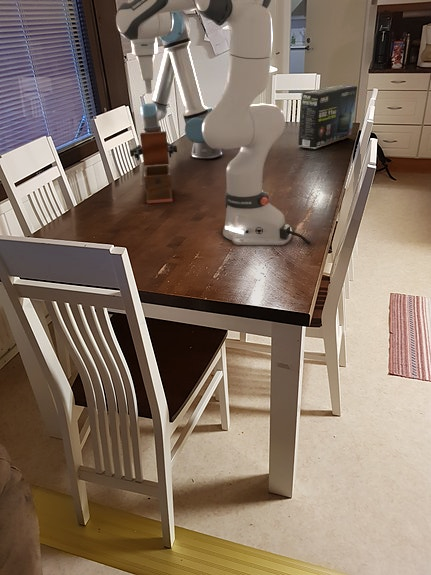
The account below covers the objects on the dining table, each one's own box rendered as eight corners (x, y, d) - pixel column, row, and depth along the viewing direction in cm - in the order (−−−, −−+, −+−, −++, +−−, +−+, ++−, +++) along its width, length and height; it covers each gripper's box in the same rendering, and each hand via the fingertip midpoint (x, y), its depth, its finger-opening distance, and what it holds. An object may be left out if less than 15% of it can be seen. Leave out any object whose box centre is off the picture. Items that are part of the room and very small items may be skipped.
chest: (172, 201, 177) (170, 174, 172) (147, 203, 176) (144, 176, 171) (171, 189, 189) (168, 164, 184) (147, 191, 188) (144, 166, 183)
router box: (314, 151, 231) (318, 94, 217) (296, 148, 237) (299, 92, 224) (352, 138, 251) (358, 85, 238) (335, 135, 258) (340, 83, 245)
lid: (166, 132, 172) (164, 119, 177) (140, 134, 171) (139, 121, 176) (168, 164, 183) (167, 151, 188) (144, 165, 182) (143, 152, 187)
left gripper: (181, 149, 213) (184, 161, 195) (127, 154, 211) (125, 167, 193) (179, 132, 209) (182, 143, 191) (124, 138, 207) (122, 149, 189)
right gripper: (135, 46, 165) (140, 87, 173) (135, 50, 148) (140, 96, 155) (153, 45, 166) (157, 86, 173) (154, 49, 149) (158, 95, 156)
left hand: (153, 155), depth 192 cm, fingers open, 13 cm apart
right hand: (149, 91), depth 164 cm, fingers open, 8 cm apart
